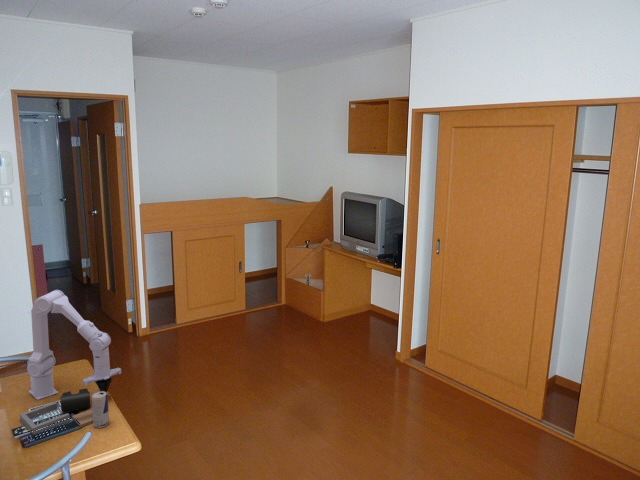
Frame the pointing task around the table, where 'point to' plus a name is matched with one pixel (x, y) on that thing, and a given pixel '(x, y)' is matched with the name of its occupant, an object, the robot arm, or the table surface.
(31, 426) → the corral stand
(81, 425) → the walnut stand
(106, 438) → the table surface
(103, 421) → the energy drink
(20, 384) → the table surface
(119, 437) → the table surface
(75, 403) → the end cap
